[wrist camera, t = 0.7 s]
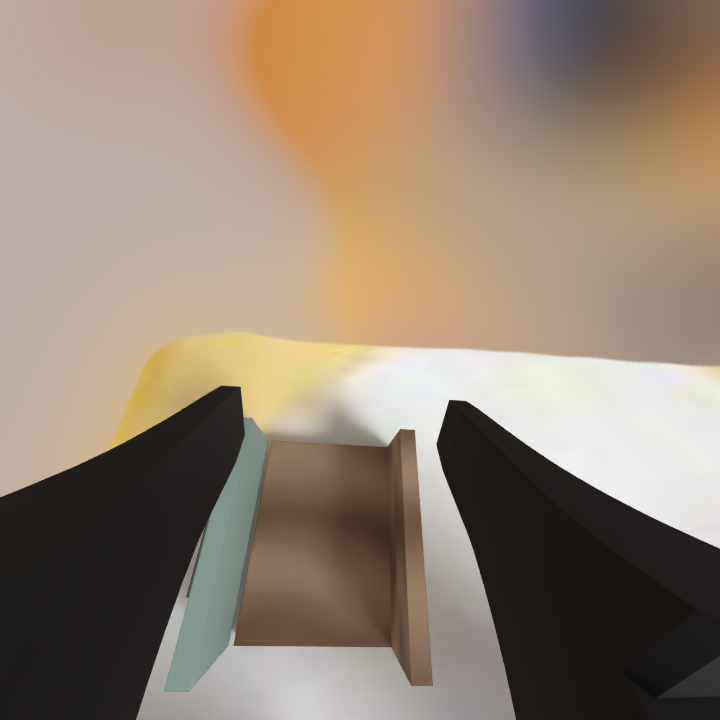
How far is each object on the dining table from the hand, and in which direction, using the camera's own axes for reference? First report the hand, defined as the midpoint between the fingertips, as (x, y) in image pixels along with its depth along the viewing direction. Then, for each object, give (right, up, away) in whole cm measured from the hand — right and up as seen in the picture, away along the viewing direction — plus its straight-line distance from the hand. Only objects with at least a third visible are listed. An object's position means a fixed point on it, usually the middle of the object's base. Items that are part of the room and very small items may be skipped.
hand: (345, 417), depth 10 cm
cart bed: (-2, -11, +11) cm, 16 cm away
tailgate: (-7, -10, +10) cm, 16 cm away
